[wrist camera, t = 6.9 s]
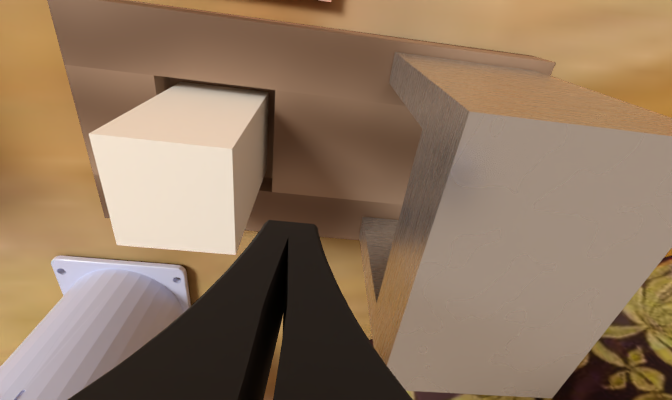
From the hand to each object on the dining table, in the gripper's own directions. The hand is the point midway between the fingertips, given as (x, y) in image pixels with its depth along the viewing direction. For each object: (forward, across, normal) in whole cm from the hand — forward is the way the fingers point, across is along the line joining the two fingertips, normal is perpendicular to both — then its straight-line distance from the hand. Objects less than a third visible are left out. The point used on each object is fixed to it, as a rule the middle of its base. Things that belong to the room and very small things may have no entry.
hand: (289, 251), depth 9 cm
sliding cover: (+7, -6, 0) cm, 10 cm away
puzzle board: (+10, 0, 0) cm, 10 cm away
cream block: (+9, +4, 0) cm, 10 cm away
